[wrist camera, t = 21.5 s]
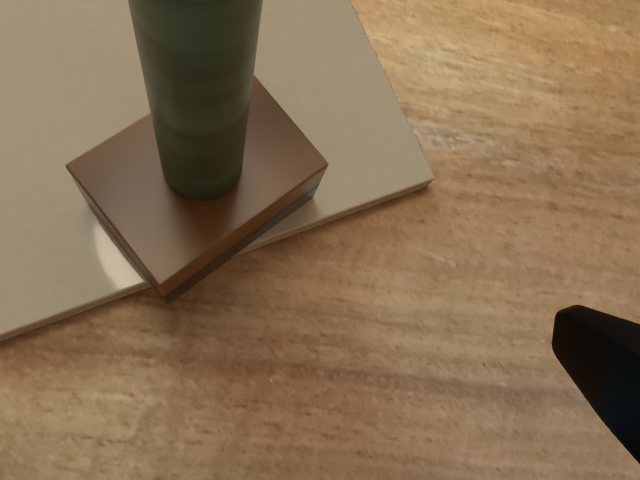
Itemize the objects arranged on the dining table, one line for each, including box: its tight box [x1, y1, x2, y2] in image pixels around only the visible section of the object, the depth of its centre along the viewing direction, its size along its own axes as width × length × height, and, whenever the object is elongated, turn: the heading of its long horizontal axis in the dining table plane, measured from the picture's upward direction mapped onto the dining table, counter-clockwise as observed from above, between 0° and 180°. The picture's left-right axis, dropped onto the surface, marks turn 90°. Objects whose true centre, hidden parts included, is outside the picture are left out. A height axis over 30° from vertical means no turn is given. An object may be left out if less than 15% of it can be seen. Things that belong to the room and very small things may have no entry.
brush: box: [65, 0, 329, 304], centre depth 17 cm, size 5×7×13 cm
